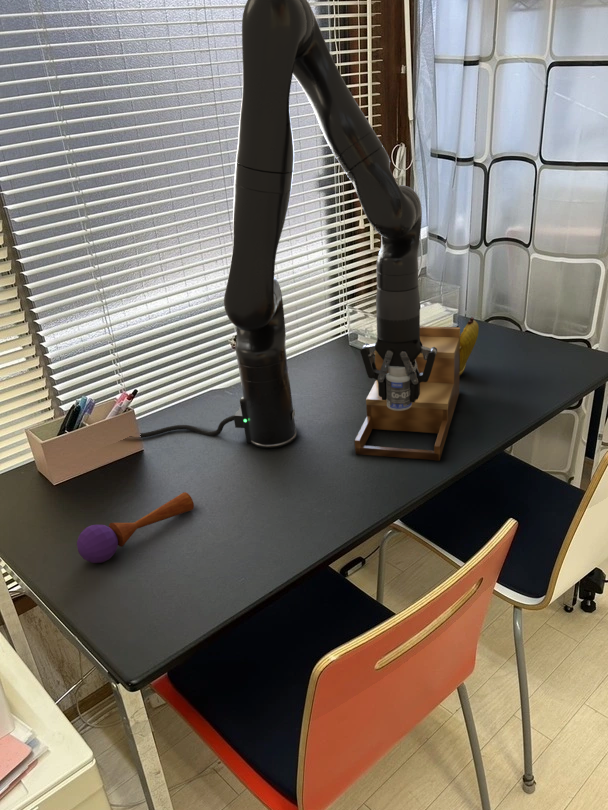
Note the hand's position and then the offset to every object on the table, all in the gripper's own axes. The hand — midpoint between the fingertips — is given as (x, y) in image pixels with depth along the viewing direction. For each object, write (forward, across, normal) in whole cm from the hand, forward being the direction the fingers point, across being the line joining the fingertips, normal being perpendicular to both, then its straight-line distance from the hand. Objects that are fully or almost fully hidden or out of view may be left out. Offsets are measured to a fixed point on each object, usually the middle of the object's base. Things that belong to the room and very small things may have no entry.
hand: (399, 399), depth 131 cm
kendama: (+10, -36, -36) cm, 52 cm away
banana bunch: (+9, +6, +32) cm, 34 cm away
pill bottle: (+2, 0, 0) cm, 2 cm away
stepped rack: (+9, 0, +9) cm, 13 cm away
